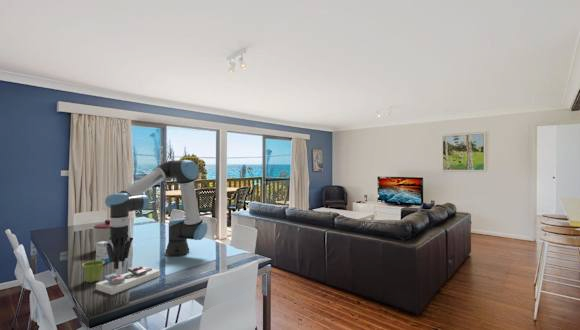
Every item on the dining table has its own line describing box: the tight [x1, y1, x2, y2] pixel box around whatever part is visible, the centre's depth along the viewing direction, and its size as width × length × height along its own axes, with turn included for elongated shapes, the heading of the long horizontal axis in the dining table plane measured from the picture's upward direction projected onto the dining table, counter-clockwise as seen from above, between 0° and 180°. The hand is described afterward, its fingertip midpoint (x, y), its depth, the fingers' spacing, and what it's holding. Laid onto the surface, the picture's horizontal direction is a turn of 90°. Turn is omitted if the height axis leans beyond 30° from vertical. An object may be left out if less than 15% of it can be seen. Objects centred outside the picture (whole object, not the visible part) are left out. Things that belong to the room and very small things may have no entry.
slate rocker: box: [104, 272, 125, 284], centre depth 137 cm, size 8×5×3 cm, turn 64°
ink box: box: [95, 241, 113, 264], centre depth 175 cm, size 9×5×12 cm, turn 71°
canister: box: [91, 219, 114, 251], centre depth 199 cm, size 18×18×21 cm
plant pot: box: [81, 260, 105, 283], centre depth 146 cm, size 9×9×9 cm
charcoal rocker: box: [127, 264, 147, 276], centre depth 148 cm, size 8×5×3 cm, turn 64°
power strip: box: [95, 266, 161, 296], centre depth 144 cm, size 12×26×3 cm, turn 154°
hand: (118, 274), depth 136 cm, fingers closed
